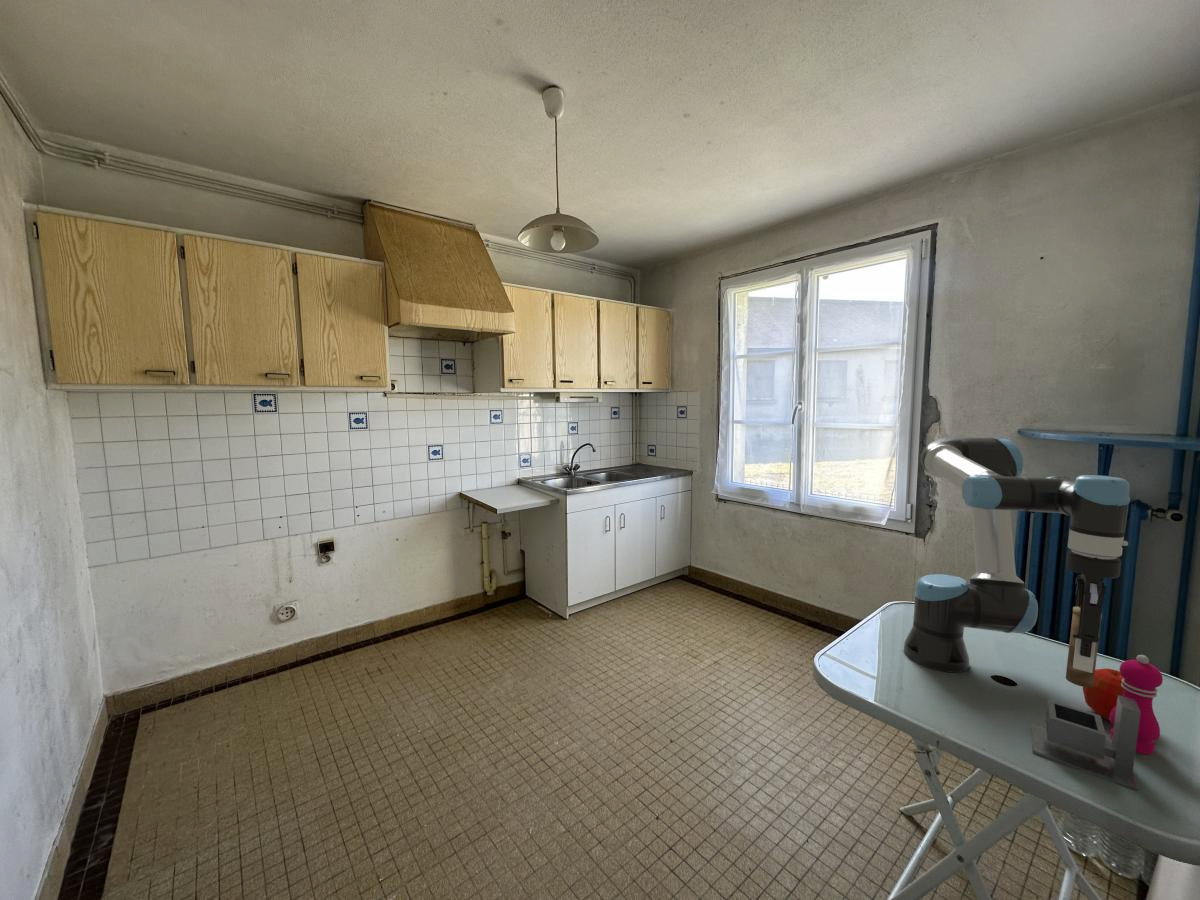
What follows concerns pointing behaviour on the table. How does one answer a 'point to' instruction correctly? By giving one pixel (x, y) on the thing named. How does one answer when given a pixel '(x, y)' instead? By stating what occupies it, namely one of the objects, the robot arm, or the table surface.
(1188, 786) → the table surface
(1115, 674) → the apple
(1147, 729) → the pepper mill
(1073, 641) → the brown cylinder
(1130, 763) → the bracket
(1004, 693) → the table surface
